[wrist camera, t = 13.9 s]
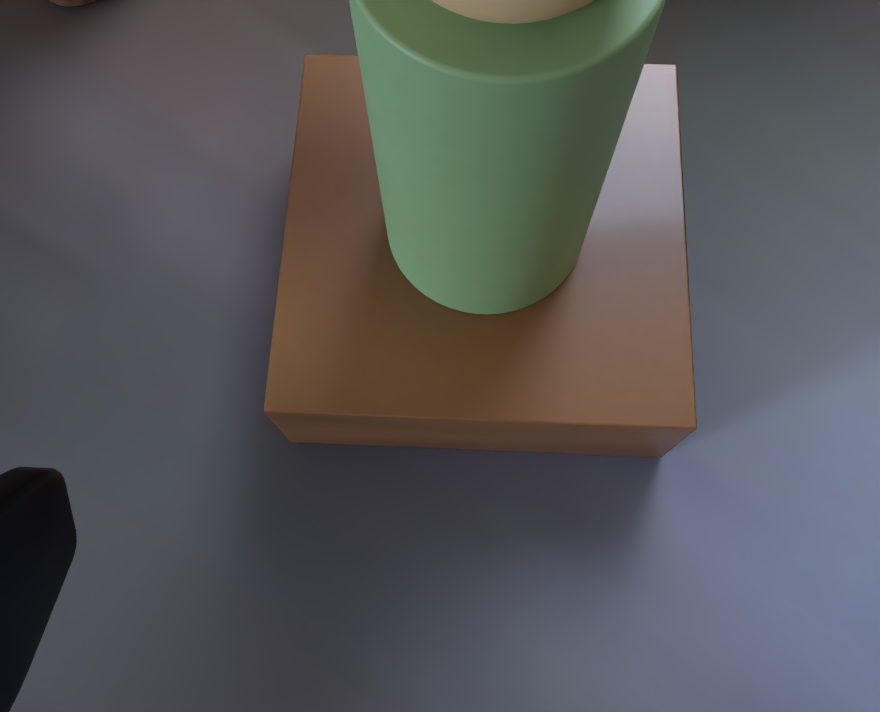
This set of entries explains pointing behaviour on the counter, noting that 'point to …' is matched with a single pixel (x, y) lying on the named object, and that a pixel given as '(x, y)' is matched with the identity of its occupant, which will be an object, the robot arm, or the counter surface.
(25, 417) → the counter surface
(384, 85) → the peg doll
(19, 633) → the robot arm
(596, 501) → the counter surface
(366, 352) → the walnut block
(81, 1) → the wooden figurine
